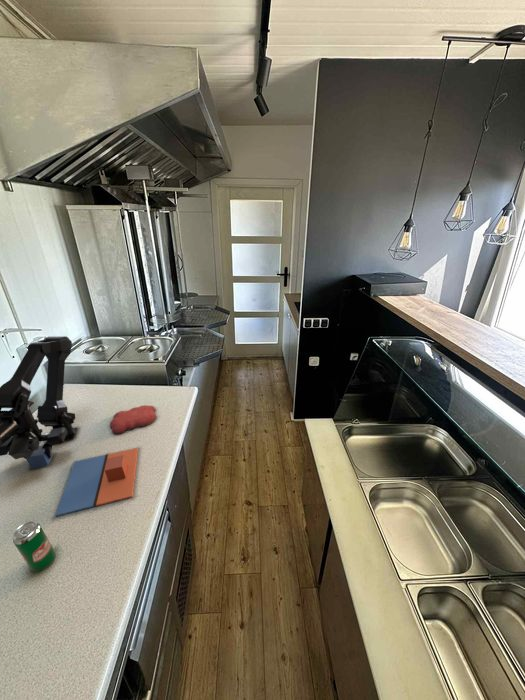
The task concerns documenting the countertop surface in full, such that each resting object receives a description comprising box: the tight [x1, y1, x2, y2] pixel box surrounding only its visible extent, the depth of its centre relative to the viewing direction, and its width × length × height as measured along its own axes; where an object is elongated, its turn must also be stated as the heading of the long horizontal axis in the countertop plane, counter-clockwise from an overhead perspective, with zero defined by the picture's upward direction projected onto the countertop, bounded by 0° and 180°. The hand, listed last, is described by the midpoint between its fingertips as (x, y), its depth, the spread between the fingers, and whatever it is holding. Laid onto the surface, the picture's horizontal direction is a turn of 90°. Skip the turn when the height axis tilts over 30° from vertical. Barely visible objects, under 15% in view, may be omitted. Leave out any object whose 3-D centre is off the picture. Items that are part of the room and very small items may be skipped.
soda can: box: [12, 520, 56, 572], centre depth 67 cm, size 5×5×12 cm
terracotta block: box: [105, 455, 127, 482], centre depth 91 cm, size 5×5×5 cm
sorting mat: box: [54, 447, 139, 517], centre depth 91 cm, size 20×20×1 cm
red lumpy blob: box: [109, 405, 157, 435], centre depth 116 cm, size 18×14×2 cm
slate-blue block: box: [25, 444, 54, 470], centre depth 96 cm, size 5×5×5 cm
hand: (41, 459), depth 97 cm, fingers closed on slate-blue block, 5 cm apart
